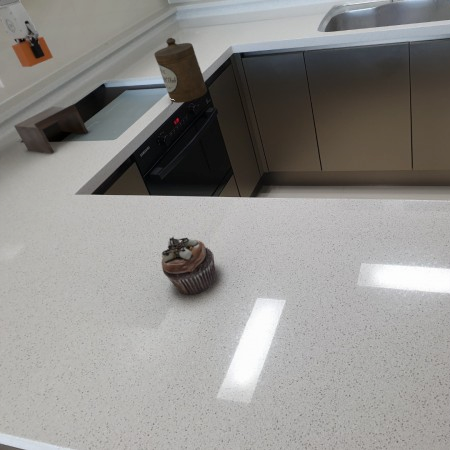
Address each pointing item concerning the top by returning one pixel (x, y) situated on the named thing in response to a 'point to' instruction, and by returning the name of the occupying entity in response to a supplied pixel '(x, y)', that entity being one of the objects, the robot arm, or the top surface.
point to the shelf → (34, 125)
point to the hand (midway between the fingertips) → (35, 56)
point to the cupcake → (189, 265)
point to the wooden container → (180, 71)
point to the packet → (31, 53)
